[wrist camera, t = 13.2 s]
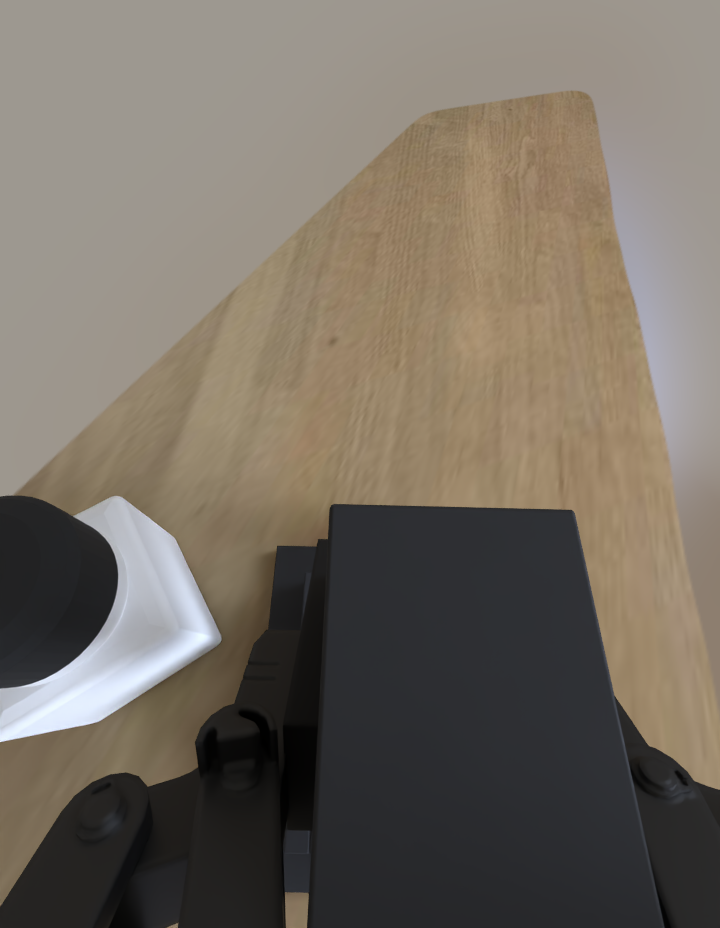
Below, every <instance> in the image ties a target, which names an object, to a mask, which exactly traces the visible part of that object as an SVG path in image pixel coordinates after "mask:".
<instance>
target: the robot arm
mask: <svg viewBox="0 0 720 928" xmlns="http://www.w3.org/2000/svg"><path fill="white" fill-rule="evenodd" d="M327 549H328V539H318V543H317V548H316V553H315V559H314V564H313V569H312V574H311V580H310V585H309V590H308V595H307V601H306V606H305V611H304V616H303V622H302V627H301V630H266V631H265V632H264V633H263V634H262V635H261V637H260V638H259V639H258V640H257V641H256V642H255V643H254V645H253V648H252V651H251V654H250V657H249V660H248V665H247V666H246V669H245V672H244V675H243V680H242V681H241V684H240V687H239V691H238V694H237V697H236V700H235V703H234V704H232V705H228V706H225V707H223V708H222V709H220V710H219V711H217V712H216V713H214V714H213V715H211V716H210V717H209V719H208V720H207V721H206V722H205V723H204V725H203V726H202V727H201V728H200V731H199V734H198V736H197V739H196V741H195V744H196V752H197V759H198V768H197V769H195V770H193V771H192V772H190V773H188V774H185V775H183V776H181V777H178V778H175V779H172V780H169V781H165V782H162V783H159V784H156V785H152V786H149V787H147V786H146V784H145V783H144V782H143V781H142V780H141V778H140V777H139V776H136V775H132V774H129V773H119V774H111V775H108V776H106V777H103V778H101V779H99V780H97V781H94V782H92V783H91V784H89V785H88V786H87V787H86V788H84V789H83V790H82V791H80V792H79V793H78V794H76V795H75V796H74V797H73V799H72V800H71V801H70V802H69V803H68V805H67V806H66V807H65V808H64V809H63V811H62V812H61V813H60V815H59V816H58V818H57V819H56V821H55V823H54V824H53V826H52V827H51V829H50V830H49V832H48V833H47V835H46V837H45V838H44V840H43V841H42V843H41V844H40V846H39V847H38V849H37V851H36V852H35V854H34V855H33V857H32V858H31V860H30V862H29V863H28V865H27V866H26V868H25V869H24V871H23V872H22V874H21V876H20V877H19V879H18V880H17V882H16V883H15V885H14V886H13V888H12V890H11V891H10V893H9V894H8V896H7V897H6V899H5V900H4V902H3V904H2V905H1V907H0V928H166V927H169V926H171V925H173V924H176V923H178V922H179V923H178V928H286V921H285V886H284V855H283V843H284V836H285V829H286V823H287V830H293V831H312V829H313V810H314V791H315V773H316V754H317V735H318V717H319V698H320V679H321V661H322V642H323V623H324V605H325V586H326V567H327ZM614 697H615V696H614ZM615 702H616V706H617V711H618V716H619V720H620V725H621V729H622V734H623V739H624V743H625V748H626V752H627V757H628V762H629V766H630V771H631V775H632V780H633V785H634V789H635V794H636V799H637V803H638V808H639V812H640V817H641V822H642V826H643V831H644V835H645V840H646V845H647V849H648V854H649V858H650V863H651V868H652V872H653V877H654V882H655V886H656V891H657V895H658V900H659V905H660V909H661V914H662V918H663V923H664V928H720V790H718V789H715V788H711V787H708V786H705V785H703V784H700V783H698V782H695V781H694V780H693V779H692V778H691V776H690V775H689V774H688V772H687V771H686V770H685V769H684V768H683V767H681V766H680V765H679V764H678V763H677V762H676V761H675V760H674V759H672V758H671V757H669V756H668V755H666V754H664V753H663V752H661V751H659V750H657V749H656V748H653V747H650V746H648V744H647V743H646V742H645V740H644V739H643V737H642V736H641V734H640V733H639V731H638V730H637V728H636V727H635V725H634V724H633V722H632V721H631V719H630V718H629V716H628V715H627V713H626V712H625V711H624V709H623V708H622V706H621V705H620V703H619V702H618V700H617V699H616V697H615Z"/></svg>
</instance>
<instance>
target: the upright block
mask: <svg viewBox="0 0 720 928" xmlns="http://www.w3.org/2000/svg"><path fill="white" fill-rule="evenodd" d="M307 928H664V923H663V918H662V914H661V909H660V905H659V900H658V895H657V891H656V886H655V882H654V877H653V872H652V868H651V863H650V858H649V854H648V849H647V845H646V840H645V835H644V831H643V826H642V822H641V817H640V812H639V808H638V803H637V799H636V794H635V789H634V785H633V780H632V775H631V771H630V766H629V762H628V757H627V752H626V748H625V743H624V739H623V734H622V729H621V725H620V720H619V716H618V711H617V706H616V702H615V697H614V692H613V688H612V683H611V679H610V674H609V669H608V665H607V660H606V656H605V651H604V646H603V642H602V637H601V633H600V628H599V623H598V619H597V614H596V609H595V605H594V600H593V596H592V591H591V586H590V582H589V577H588V573H587V568H586V563H585V559H584V554H583V549H582V545H581V540H580V536H579V531H578V526H577V522H576V517H575V513H574V511H572V510H554V509H513V508H472V507H431V506H390V505H349V504H334V505H331V507H330V512H329V530H328V549H327V567H326V586H325V605H324V623H323V642H322V661H321V679H320V698H319V717H318V735H317V754H316V773H315V791H314V810H313V829H312V847H311V866H310V884H309V903H308V922H307Z"/></svg>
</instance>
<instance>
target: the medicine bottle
mask: <svg viewBox="0 0 720 928" xmlns="http://www.w3.org/2000/svg"><path fill="white" fill-rule="evenodd" d="M221 640H222V638H221V634H220V632H219V630H218V628H217V626H216V624H215V622H214V619H213V617H212V615H211V613H210V611H209V609H208V607H207V605H206V603H205V600H204V598H203V596H202V594H201V592H200V590H199V588H198V586H197V584H196V581H195V579H194V577H193V575H192V573H191V571H190V569H189V567H188V565H187V563H186V560H185V558H184V556H183V554H182V552H181V550H180V548H179V546H178V544H177V541H176V539H175V538H174V537H173V536H172V535H170V534H169V533H168V532H167V531H165V530H164V529H163V528H161V527H160V526H159V525H157V524H156V523H155V522H154V521H152V520H151V519H150V518H148V517H147V516H146V515H144V514H143V513H142V512H140V511H139V510H138V509H137V508H135V507H134V506H133V505H131V504H130V503H129V502H127V501H126V500H125V499H124V498H122V497H119V496H112V497H110V498H108V499H106V500H104V501H102V502H100V503H98V504H96V505H94V506H92V507H90V508H88V509H86V510H84V511H83V512H81V513H79V514H77V515H75V516H71V515H69V514H68V513H66V512H64V511H62V510H61V509H59V508H57V507H55V506H53V505H52V504H49V503H47V502H45V501H43V500H40V499H36V498H33V497H26V496H2V497H0V742H3V741H8V740H13V739H18V738H23V737H28V736H33V735H38V734H43V733H48V732H53V731H58V730H63V729H68V728H72V727H77V726H82V725H87V724H92V723H96V722H99V721H101V720H102V719H104V718H105V717H107V716H109V715H110V714H112V713H113V712H115V711H116V710H118V709H119V708H121V707H123V706H124V705H126V704H127V703H129V702H130V701H132V700H134V699H135V698H137V697H138V696H140V695H141V694H143V693H144V692H146V691H148V690H149V689H151V688H152V687H154V686H155V685H157V684H159V683H160V682H162V681H163V680H165V679H166V678H168V677H169V676H171V675H173V674H174V673H176V672H177V671H179V670H180V669H182V668H184V667H185V666H187V665H188V664H190V663H191V662H193V661H194V660H196V659H198V658H199V657H201V656H202V655H204V654H205V653H207V652H208V651H210V650H212V649H213V648H215V647H216V646H218V645H219V644H220V643H221Z"/></svg>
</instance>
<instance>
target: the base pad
mask: <svg viewBox="0 0 720 928" xmlns="http://www.w3.org/2000/svg"><path fill="white" fill-rule="evenodd" d="M316 548H317V547H309V546H277V553H276V563H275V572H274V581H273V591H272V600H271V609H270V619H269V628H268V630H301V627H302V622H303V616H304V611H305V606H306V601H307V595H308V590H309V585H310V580H311V574H312V569H313V564H314V559H315V553H316ZM311 847H312V831H293V830H287V823H286V829H285V836H284V843H283V855H284V886H285V892H303V893H309V884H310V866H311Z"/></svg>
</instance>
